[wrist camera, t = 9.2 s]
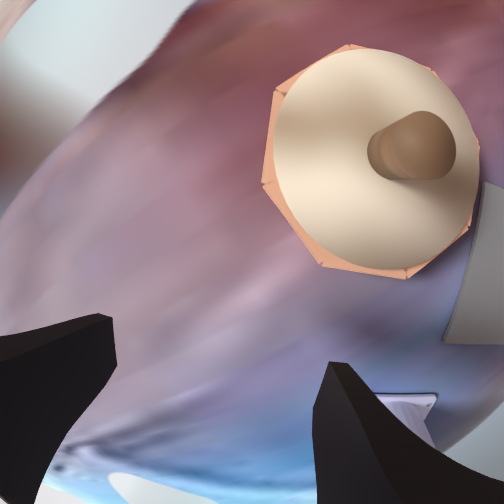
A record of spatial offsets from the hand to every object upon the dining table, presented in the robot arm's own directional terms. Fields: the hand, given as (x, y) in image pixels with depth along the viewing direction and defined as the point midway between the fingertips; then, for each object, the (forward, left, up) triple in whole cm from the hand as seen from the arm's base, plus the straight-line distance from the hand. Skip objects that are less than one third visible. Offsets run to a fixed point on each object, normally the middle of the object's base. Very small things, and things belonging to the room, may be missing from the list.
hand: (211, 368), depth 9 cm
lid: (+8, -6, -6) cm, 12 cm away
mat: (+3, -21, -10) cm, 23 cm away
